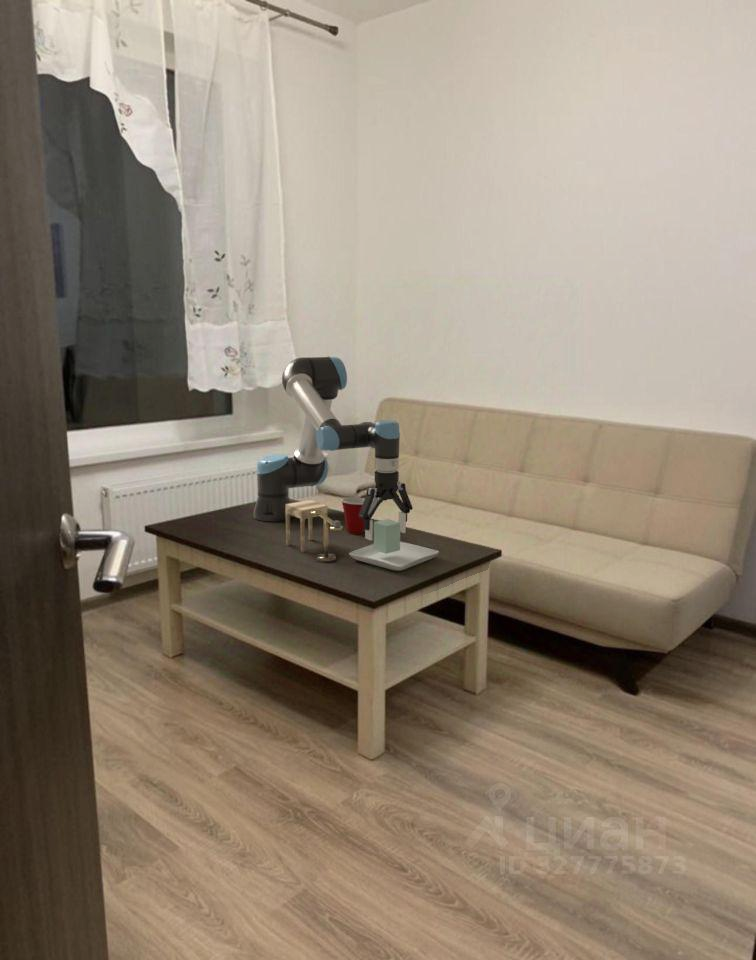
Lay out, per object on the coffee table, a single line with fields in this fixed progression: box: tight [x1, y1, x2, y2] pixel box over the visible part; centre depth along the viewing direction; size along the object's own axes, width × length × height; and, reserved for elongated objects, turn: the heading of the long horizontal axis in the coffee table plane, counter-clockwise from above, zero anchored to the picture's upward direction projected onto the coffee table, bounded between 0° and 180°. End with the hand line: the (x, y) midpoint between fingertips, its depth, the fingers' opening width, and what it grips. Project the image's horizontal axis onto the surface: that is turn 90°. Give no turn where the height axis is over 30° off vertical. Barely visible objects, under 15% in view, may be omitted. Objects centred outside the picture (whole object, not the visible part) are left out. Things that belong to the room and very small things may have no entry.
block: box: [373, 518, 401, 554], centre depth 239 cm, size 6×6×9 cm
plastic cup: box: [340, 496, 365, 535], centre depth 268 cm, size 11×11×12 cm
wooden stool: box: [285, 499, 328, 553], centre depth 251 cm, size 10×10×14 cm
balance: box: [311, 510, 344, 563], centre depth 237 cm, size 15×6×15 cm, turn 39°
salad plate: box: [348, 541, 440, 572], centre depth 239 cm, size 21×21×3 cm
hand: (385, 535), depth 240 cm, fingers open, 13 cm apart
